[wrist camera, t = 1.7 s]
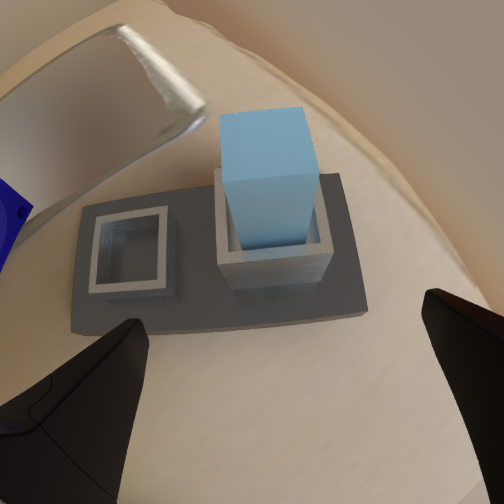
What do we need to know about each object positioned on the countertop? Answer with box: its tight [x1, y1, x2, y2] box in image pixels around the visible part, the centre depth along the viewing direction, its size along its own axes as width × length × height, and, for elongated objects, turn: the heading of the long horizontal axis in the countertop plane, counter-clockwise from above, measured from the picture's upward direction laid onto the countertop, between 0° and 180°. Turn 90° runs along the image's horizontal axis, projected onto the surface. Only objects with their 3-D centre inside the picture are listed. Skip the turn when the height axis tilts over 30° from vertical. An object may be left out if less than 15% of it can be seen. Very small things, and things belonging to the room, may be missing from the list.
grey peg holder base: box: [71, 168, 368, 336], centre depth 21 cm, size 22×11×8 cm, turn 95°
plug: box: [220, 107, 320, 251], centre depth 15 cm, size 4×4×7 cm
